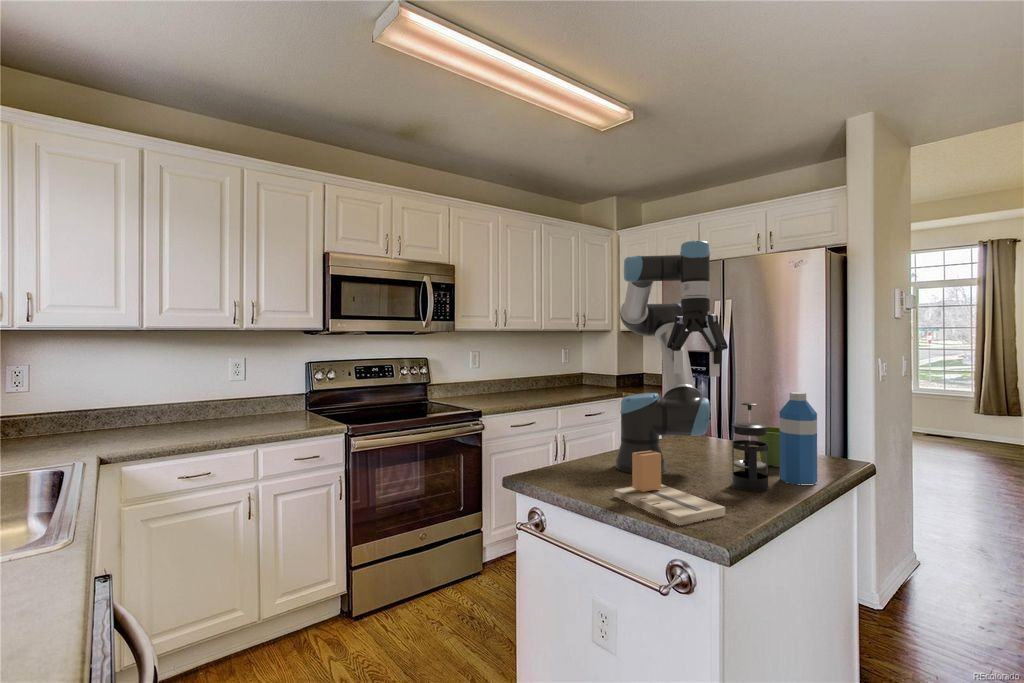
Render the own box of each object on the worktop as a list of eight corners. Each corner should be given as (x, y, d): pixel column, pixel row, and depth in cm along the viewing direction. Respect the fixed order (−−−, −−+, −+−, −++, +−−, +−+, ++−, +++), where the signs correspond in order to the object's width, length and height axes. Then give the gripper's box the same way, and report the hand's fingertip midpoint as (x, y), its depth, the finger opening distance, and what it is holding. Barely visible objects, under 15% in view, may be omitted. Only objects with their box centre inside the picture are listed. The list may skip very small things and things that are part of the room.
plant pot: (780, 471, 158) (779, 434, 158) (745, 463, 169) (745, 428, 169) (803, 466, 164) (803, 430, 164) (769, 458, 175) (768, 425, 174)
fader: (632, 487, 134) (632, 452, 134) (650, 484, 136) (650, 449, 136) (642, 491, 130) (642, 455, 130) (661, 488, 133) (661, 452, 133)
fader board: (614, 497, 134) (614, 489, 134) (656, 489, 140) (656, 482, 140) (679, 525, 113) (679, 516, 113) (725, 515, 120) (725, 506, 120)
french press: (729, 480, 149) (729, 400, 149) (765, 483, 146) (765, 401, 146) (733, 492, 138) (733, 405, 137) (773, 495, 135) (772, 406, 135)
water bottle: (772, 478, 150) (771, 392, 150) (796, 475, 153) (795, 390, 153) (800, 487, 141) (800, 395, 141) (825, 483, 145) (824, 393, 144)
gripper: (654, 300, 153) (654, 372, 153) (720, 293, 131) (720, 378, 131) (674, 301, 156) (674, 371, 156) (742, 294, 134) (742, 377, 134)
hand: (695, 375), depth 144 cm, fingers open, 13 cm apart
